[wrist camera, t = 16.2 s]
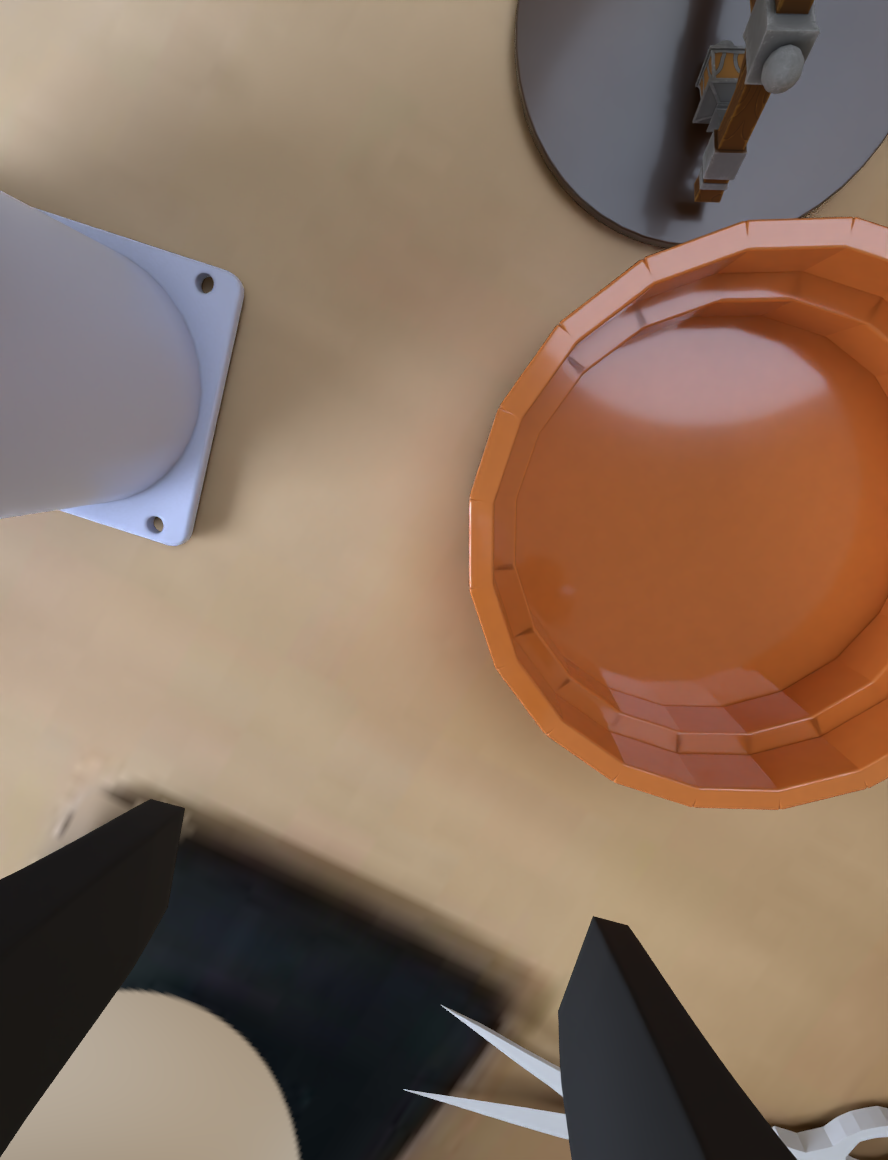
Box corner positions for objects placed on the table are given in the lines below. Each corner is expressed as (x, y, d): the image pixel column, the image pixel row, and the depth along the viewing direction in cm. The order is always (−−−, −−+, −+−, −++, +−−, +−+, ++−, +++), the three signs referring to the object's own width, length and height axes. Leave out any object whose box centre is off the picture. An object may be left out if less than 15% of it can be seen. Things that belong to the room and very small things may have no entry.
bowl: (415, 660, 19) (399, 714, 15) (563, 203, 16) (588, 127, 12) (820, 789, 19) (905, 877, 15) (1043, 361, 16) (1219, 335, 12)
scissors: (842, 1341, 23) (363, 1158, 23) (831, 1314, 24) (366, 1135, 23) (1006, 1154, 21) (477, 942, 20) (987, 1129, 22) (477, 924, 21)
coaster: (463, 184, 16) (463, 177, 16) (596, -281, 14) (599, -302, 14) (816, 300, 16) (824, 296, 16) (1005, -144, 14) (1020, -160, 14)
